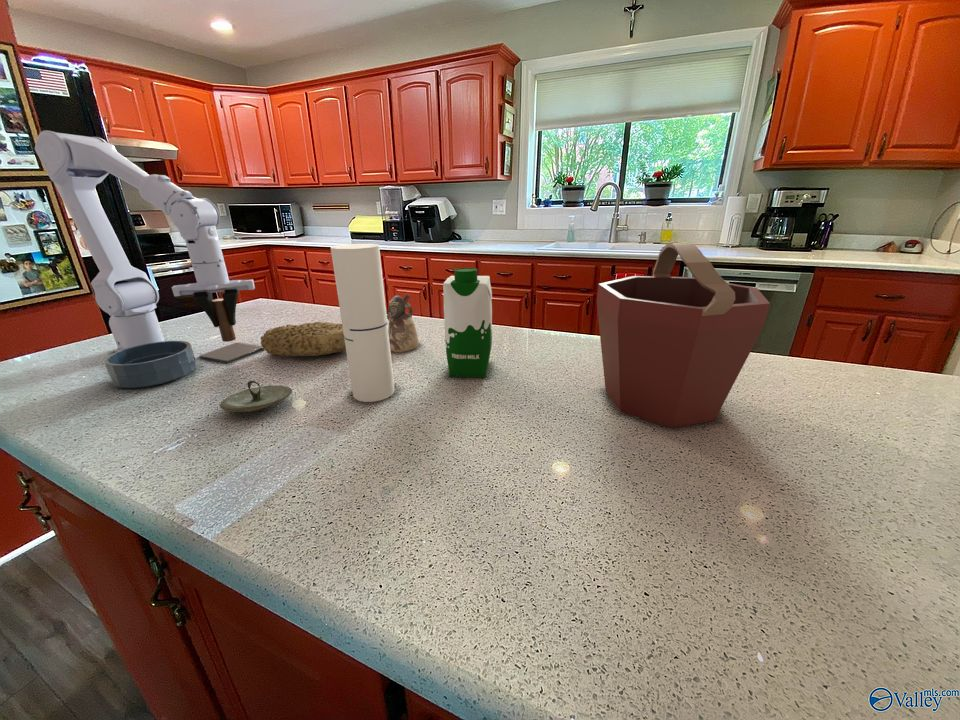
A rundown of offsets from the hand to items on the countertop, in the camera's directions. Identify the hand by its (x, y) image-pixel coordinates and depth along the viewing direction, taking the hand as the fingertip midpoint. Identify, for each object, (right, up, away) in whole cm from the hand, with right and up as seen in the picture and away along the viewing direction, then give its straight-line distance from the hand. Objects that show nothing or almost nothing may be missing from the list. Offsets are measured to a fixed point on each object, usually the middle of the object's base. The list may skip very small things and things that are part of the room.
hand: (225, 325), depth 87 cm
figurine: (+38, -5, +5) cm, 39 cm away
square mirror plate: (0, -6, +2) cm, 7 cm away
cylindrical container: (+37, -14, -17) cm, 43 cm away
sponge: (+19, -6, +2) cm, 20 cm away
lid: (+19, -16, -21) cm, 32 cm away
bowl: (-8, -11, -8) cm, 16 cm away
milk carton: (+54, -10, -8) cm, 55 cm away
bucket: (+85, -15, -21) cm, 89 cm away
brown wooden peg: (0, -3, +1) cm, 3 cm away
